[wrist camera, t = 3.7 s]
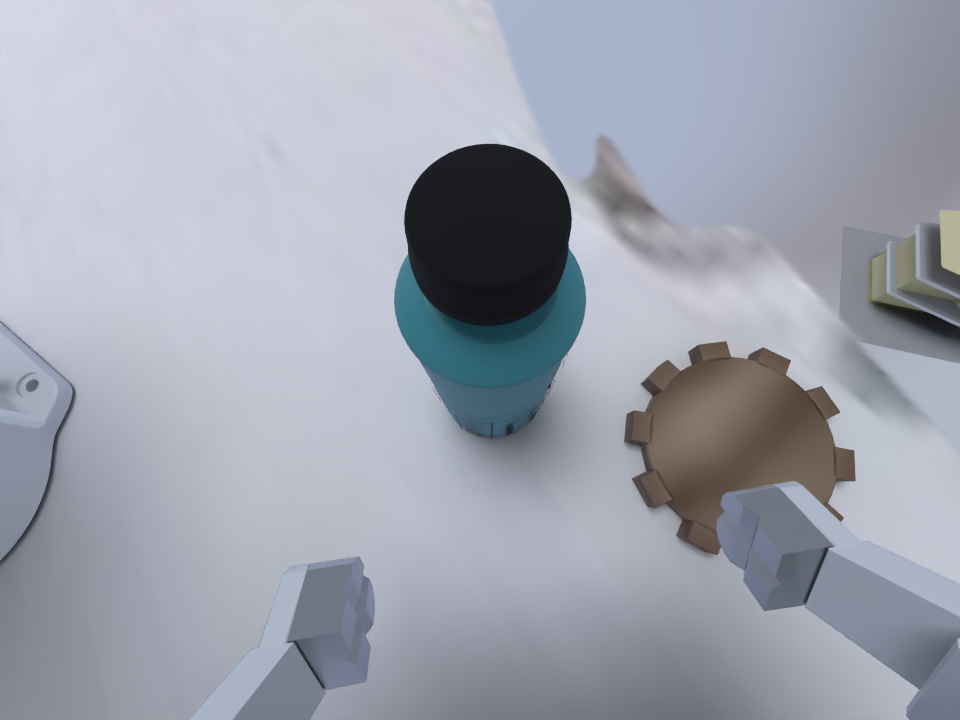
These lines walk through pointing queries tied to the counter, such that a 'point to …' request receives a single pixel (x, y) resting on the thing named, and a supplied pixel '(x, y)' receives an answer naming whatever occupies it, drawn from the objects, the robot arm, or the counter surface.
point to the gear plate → (732, 436)
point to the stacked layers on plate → (904, 288)
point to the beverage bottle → (489, 283)
